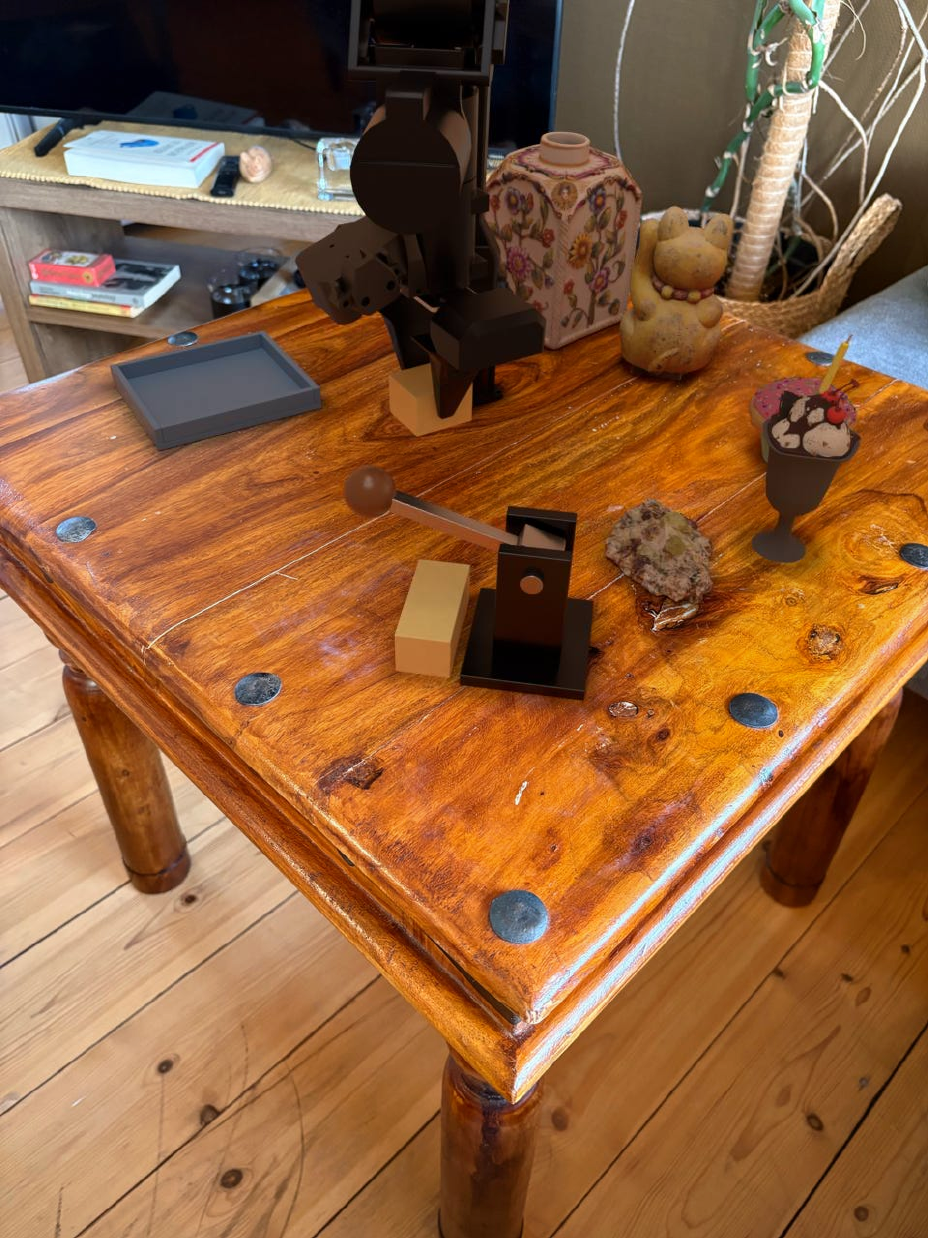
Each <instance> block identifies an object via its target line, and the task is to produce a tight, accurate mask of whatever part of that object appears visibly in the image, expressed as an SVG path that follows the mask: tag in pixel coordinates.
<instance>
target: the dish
mask: <svg viewBox="0 0 928 1238" xmlns="http://www.w3.org/2000/svg"><path fill="white" fill-rule="evenodd" d="M109 368H110V372H111V373H110V374H111V377H112V381H113V386H114V387H115V388H116V390H117V391H118V394H119V395H120V396H121V397H122V399H123V400H124V402H125V403H126V405H127V406H128V407H129V409H130V410H131V412H132V414H133V415H134V416H135V418H136V419H137V421H138V422H139V424H140V426H141V427H142V428H143V430H144V431H145V433H146V434H147V436H148V437H149V439H150V440H151V442H152V444H153V445H154V446H155V448H156V449H157V451H160V452H161V451H165V450H168V449H171V448H175V447H176V448H177V447H179V446H183V445H187V444H191V443H195V442H198V441H202V440H206V439H209V438H214V437H217V436H221V435H225V434H228V433H232V432H236V431H239V430H243V429H247V428H252V427H255V426H258V425H262V424H267V423H271V422H274V421H278V420H281V419H285V418H290V417H293V416H297V415H300V414H304V413H308V412H313V411H315V410H319V409H322V408H323V407H322V406H323V405H322V397H321V387H320V385H318V384H317V383H316V382H315V380H313V379H312V377H310V376H309V375H308V373H306V372H305V370H304V369H303V368H301V366H300V365H299V364H297V363H296V362H295V360H294V359H293V358H292V357H291V356H290V355H288V353H287V352H286V351H285V350H284V349H283V348H282V347H281V346H280V345H279V344H278V343H277V342H276V341H275V340H274V339H273V338H272V337H271V336H270V335H269V334H268V333H267V331H265V330H260V331H255V332H251V333H246V334H241V335H237V336H232V337H228V338H224V339H219V340H215V341H211V342H206V343H202V344H198V345H197V344H196V345H193V346H189V347H184V348H180V349H175V350H171V351H166V352H161V353H157V354H153V355H149V356H144V357H139V358H135V359H131V360H126V361H122V362H117V363H112V364H109Z"/></svg>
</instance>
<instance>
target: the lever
mask: <svg viewBox="0 0 928 1238" xmlns="http://www.w3.org/2000/svg"><path fill="white" fill-rule="evenodd" d="M343 497H344V501H345V504H346V505H347V507H348V509H350V510H351V512H353V513H354V514H355V515H357V516H359V517H361V518H364V519H376V518H379V517H382V516H384V515H386V514H387V513H388V512H389V513H391V514H394V515H397V516H400V517H402V518H405V519H408V520H411V521H413V522H416V523H418V524H421V525H424V526H426V527H429V528H432V529H434V530H437V531H439V532H441V533H445V534H447V535H449V536H453V537H455V538H457V539H459V540H460V539H461V540H463V541H465V542H469V543H470V544H474V545H476V546H479V547H481V548H484V549H487V550H489V551H492V552H495V553H497V554H498V549H499V545H500V544H510V545H519V546H528V547H537V548H545V549H554V550H563V551H565V544H566V539H564V538H561V537H559V536H556V535H554V534H551V533H548V532H546V531H543V530H540V529H538V528H535V527H533V526H530V525H527V524H525V525H524V526H523V528H522V530H521V532H520V535H519V536H516V535H513V534H511V533H508V532H506V531H505V530H504V529H500V528H498V527H495V526H493V525H490V524H487V523H484V522H482V521H480V520H477V519H474V518H471V517H470V516H467V515H464V514H461V513H458V512H455V511H453V510H451V509H448V508H445V507H443V506H440V505H437V504H435V503H432V502H429V501H428V500H425V499H422V498H419V497H418V496H417V497H416V496H414V495H411V494H408V493H406V492H404V491H401V490H399V489H397V487H396V483H395V480H394V479H393V477H392V475H391V474H390V473H389V472H388V471H387V470H385V469H384V468H382V467H380V466H377V465H369V464H368V465H362V466H360V467H357V468H356V469H354V470H353V471H351V472H350V474H349V475H348V476H347V478H346V479H345V481H344V485H343Z"/></svg>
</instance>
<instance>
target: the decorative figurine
mask: <svg viewBox="0 0 928 1238" xmlns="http://www.w3.org/2000/svg"><path fill="white" fill-rule="evenodd" d="M638 230H639V241H638V248H637V250H636V251H637V252H636V254H635V260H634V264H633V267H632V270H631V276H630V295H629V296H630V300H631V301H630V302H631V304H632V307H629V308H627V311H626V312H625V314H624V316H623V318H622V320H621V321H620V322H619V323H620V324H619V340H620V341H619V342H620V354H621V356H622V358H623V360H624V361H626V362H628V363H629V364H631V367H630V370H629V373H630V374H638V375H639V374H640V375H645V376H650V377H656V378H661V379H667V380H672V381H675V382H676V381H677V382H679V381H681V380H682V377H683V375H685V374H686V375H687V374H688V373H691V372H696V371H697V370H700V369H703V368H704V367H705V366H706V365H707V364H708V363H709V362H710V360H711V358H712V357H713V355H714V353H715V352H716V350H717V349H718V348H719V346H720V343H721V341H722V336H723V335H722V334H723V330H722V325H721V322H720V320H721V319H722V317H723V315H724V306H723V303H722V301H721V300H720V299H719V298H718V296H717V295H716V294H715V293H714V292H715V288H714V285H715V284H716V283H717V282H718V281H719V280H720V279H721V277H722V276H723V274H724V272H725V270H726V267H727V264H728V249H729V246H730V244H731V243H730V242H731V239H732V236H733V231H734V221H733V218H732V217H731V216H730V215H728V214H726V213H718V214H717V215H715V216H713V217H712V218H711V219H710V220H709V221H708V222H707V224H705V226H704V228H700V227H697V226H690V223H689V220H688V215H687V213H686V211H685V210H683V209H682V207H679V206H677V205H673V206H670V207H668V208H667V209H666V210H665V212H664V213H663V214H662V216H661V218H660V220H659V219H657V218H646V219H644V220H642V221H641V223H639V226H638Z"/></svg>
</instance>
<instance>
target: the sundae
mask: <svg viewBox="0 0 928 1238" xmlns="http://www.w3.org/2000/svg"><path fill="white" fill-rule="evenodd" d="M850 385H851V387H849V388H847V389H845V390H843V389H844V388H846V387H847V386H850ZM860 386H861V384H860V382H858V380H856V379H855V378H851V379H850V382H848V383H846V384H844V385H842V386H840V387H838V389H837V390H835V391H833V390H826V391H824V393H823V394H819V393H816V394H813V395H809V396H806V397H804V396H800V395H797V394H795V393H793V392H790V391H787V390H784V391H783V392H782V394H781V400H780V405H779V412H778V413H776V414H773V415H772V416H771V418H770V419H767V420H766V421H765V422H764V423H763V434H764V437H765V439H766V441H767V443H768V445H769V454H768V463H766V473H765V497H766V500H767V501H768V503H769V504H770V506H771V507H772V508H773V510H775V511H776V512H777V513H778V519H777V523H776V525H775V527H774V528H773V530H772V529H771V530H770V529H769V530H762V531H759V532H758V533H755V534H754V535H753V537H752V538H751V547H752V549H753V551H754V552H755V553H756V554H757V555H759V556H760V557H762V558H764V559H766V560H768V561H772V562H775V563H783V564H791V563H797V562H799V561H801V560H803V559H804V558H805V556H806V553H807V548H806V545H805V544H804V542H803V541H802V540H801V539H799V538H798V537H797V536H795V535H794V534H792V531H793V527H794V522H795V519H796V518H798V517H802V516H805V515H807V514H809V513H812V512H814V511H815V510H817V509H818V508H819V506H820V504H821V503H822V501H823V500H824V497H825V496H826V495H827V493H828V491H829V488H830V486H831V484H832V482H833V480H834V478H835V476H836V474H837V472H838V470H839V468H840V466H841V464H842V463H846V462H848V461H850V460H851V459H853V457H855V455H856V453H857V452H858V450H859V448H860V446H861V439H862V437H861V436H860V434H858V433H857V432H855V430H854V429H852V430H851V429H850V428H848V426H847V424H846V423H845V421H844V420H843V419H844V418H845V414H846V413H845V410H843V409H842V408H841V407H839V403H840V400H841V398H842V396H843V395H845V394H847V392H849V391H850V390H852V389H856V388H860ZM839 390H841V391H842V390H843V391H842V394H841V395H840V397H839V395H838V393H837V392H838V391H839Z"/></svg>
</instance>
